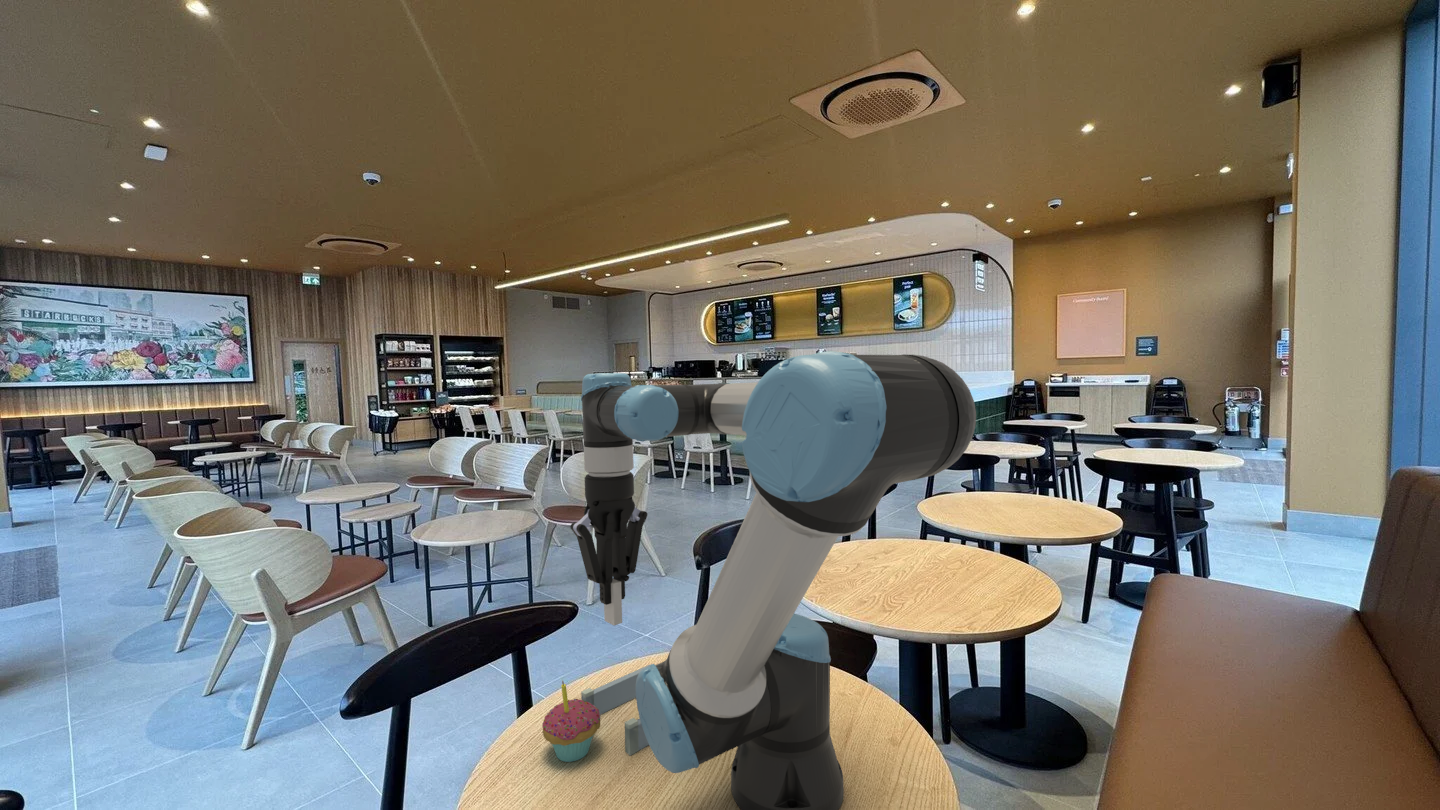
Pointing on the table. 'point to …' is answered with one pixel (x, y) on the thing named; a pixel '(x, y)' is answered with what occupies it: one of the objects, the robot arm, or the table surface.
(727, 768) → the table surface
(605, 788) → the table surface
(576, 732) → the cupcake
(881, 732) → the table surface
